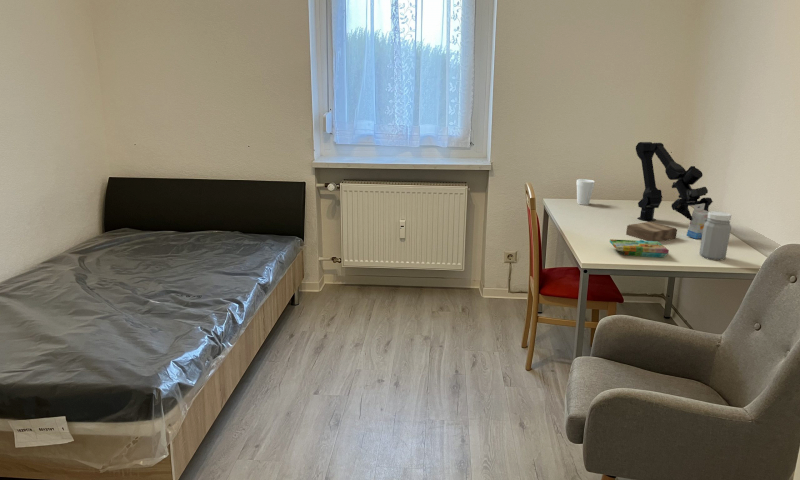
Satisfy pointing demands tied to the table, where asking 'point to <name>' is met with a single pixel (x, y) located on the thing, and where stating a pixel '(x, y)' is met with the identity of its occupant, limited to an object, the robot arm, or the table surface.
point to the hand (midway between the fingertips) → (699, 219)
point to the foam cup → (584, 191)
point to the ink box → (697, 222)
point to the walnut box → (651, 231)
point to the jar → (715, 235)
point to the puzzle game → (640, 248)
